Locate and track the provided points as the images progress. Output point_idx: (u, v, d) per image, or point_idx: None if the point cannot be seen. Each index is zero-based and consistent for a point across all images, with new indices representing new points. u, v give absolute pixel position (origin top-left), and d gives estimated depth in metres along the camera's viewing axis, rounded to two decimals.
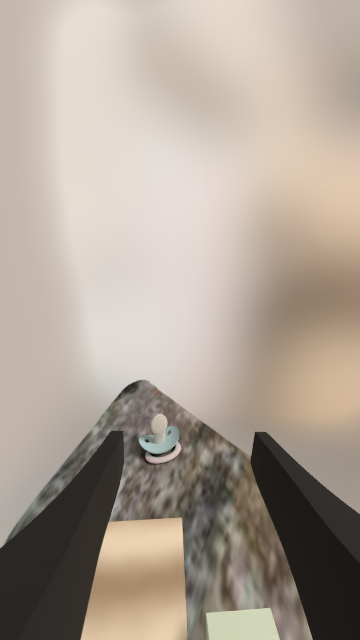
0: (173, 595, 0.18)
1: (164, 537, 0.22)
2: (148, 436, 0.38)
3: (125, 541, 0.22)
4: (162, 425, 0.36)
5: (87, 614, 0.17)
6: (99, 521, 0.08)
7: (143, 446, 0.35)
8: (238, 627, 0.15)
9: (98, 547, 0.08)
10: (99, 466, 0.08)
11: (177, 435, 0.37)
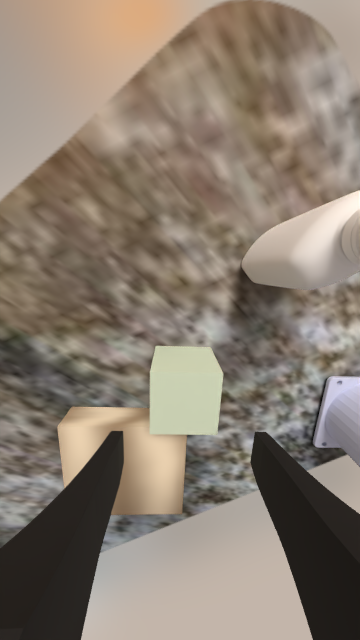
0: (128, 437, 0.18)
1: (80, 445, 0.18)
2: None
3: None
4: None
5: (136, 501, 0.19)
6: (99, 521, 0.08)
7: None
8: (160, 408, 0.14)
9: (98, 547, 0.08)
10: (99, 466, 0.08)
11: None
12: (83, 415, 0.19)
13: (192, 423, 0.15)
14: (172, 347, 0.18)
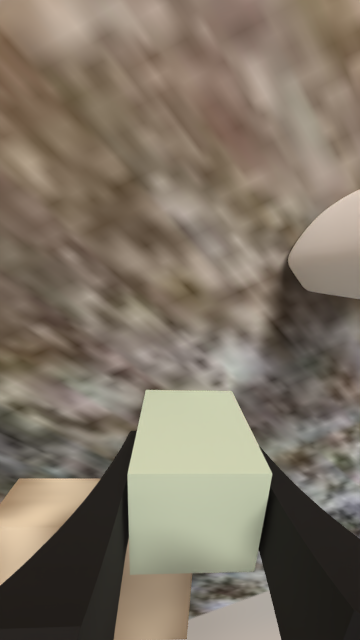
0: None
1: (23, 553, 0.11)
2: None
3: None
4: None
5: (117, 625, 0.13)
6: (126, 521, 0.08)
7: None
8: (149, 533, 0.08)
9: (125, 547, 0.08)
10: (125, 466, 0.08)
11: None
12: (32, 498, 0.12)
13: (209, 556, 0.08)
14: (172, 393, 0.11)
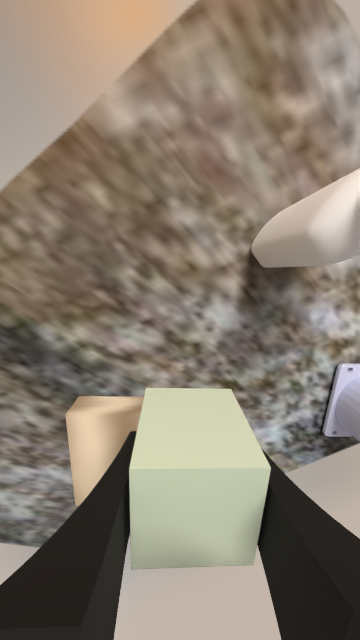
0: (137, 426, 0.18)
1: (88, 434, 0.18)
2: None
3: (92, 473, 0.19)
4: None
5: None
6: (126, 521, 0.08)
7: None
8: (150, 528, 0.08)
9: (125, 547, 0.08)
10: (125, 466, 0.08)
11: None
12: (91, 404, 0.18)
13: (209, 549, 0.08)
14: (172, 391, 0.12)
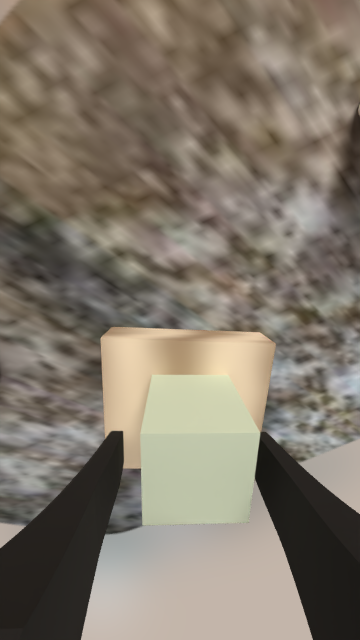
0: (195, 357, 0.13)
1: (129, 367, 0.13)
2: None
3: (131, 423, 0.14)
4: None
5: None
6: (99, 521, 0.08)
7: None
8: (158, 487, 0.09)
9: (98, 547, 0.08)
10: (99, 466, 0.08)
11: None
12: (131, 332, 0.14)
13: (210, 508, 0.09)
14: (175, 377, 0.13)
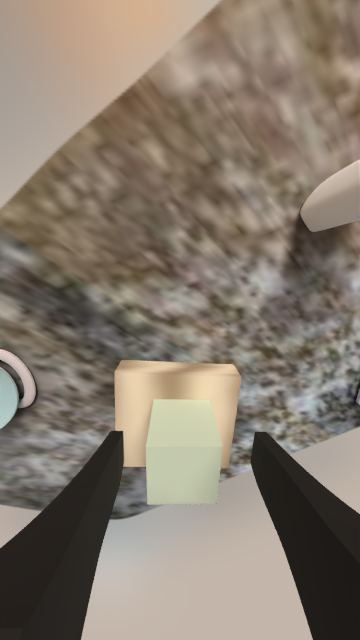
0: (182, 386, 0.18)
1: (135, 393, 0.18)
2: None
3: (135, 433, 0.19)
4: None
5: None
6: (99, 521, 0.08)
7: (5, 420, 0.19)
8: (157, 480, 0.14)
9: (98, 547, 0.08)
10: (99, 466, 0.08)
11: None
12: (136, 365, 0.19)
13: (191, 493, 0.14)
14: (170, 401, 0.18)
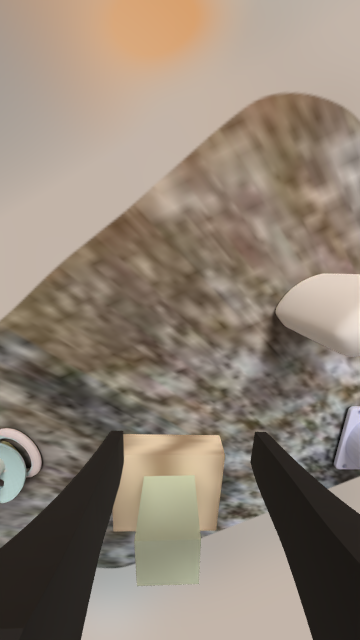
0: (172, 464, 0.20)
1: (129, 470, 0.20)
2: None
3: (130, 503, 0.21)
4: None
5: None
6: (99, 521, 0.08)
7: (14, 492, 0.21)
8: (145, 566, 0.16)
9: (98, 547, 0.08)
10: (99, 466, 0.08)
11: None
12: (130, 442, 0.21)
13: (175, 576, 0.16)
14: (159, 479, 0.20)
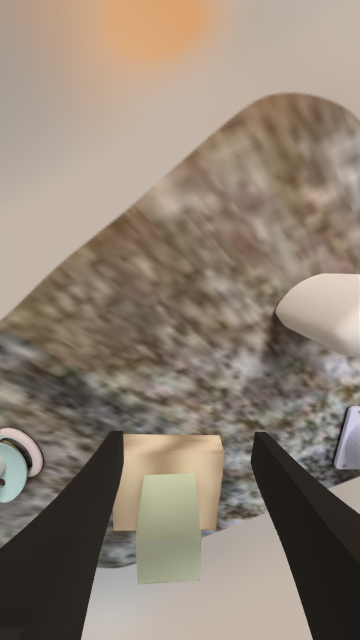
0: (172, 464, 0.20)
1: (129, 470, 0.20)
2: None
3: (131, 503, 0.21)
4: None
5: None
6: (99, 521, 0.08)
7: (15, 492, 0.21)
8: (146, 565, 0.16)
9: (98, 547, 0.08)
10: (99, 466, 0.08)
11: None
12: (130, 442, 0.21)
13: (176, 574, 0.16)
14: (158, 478, 0.20)
